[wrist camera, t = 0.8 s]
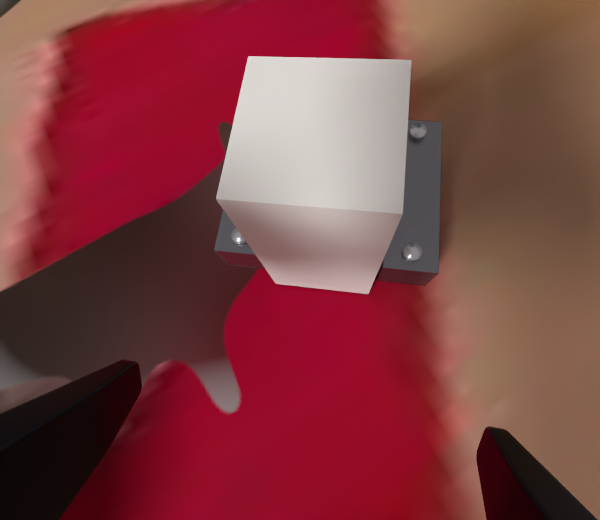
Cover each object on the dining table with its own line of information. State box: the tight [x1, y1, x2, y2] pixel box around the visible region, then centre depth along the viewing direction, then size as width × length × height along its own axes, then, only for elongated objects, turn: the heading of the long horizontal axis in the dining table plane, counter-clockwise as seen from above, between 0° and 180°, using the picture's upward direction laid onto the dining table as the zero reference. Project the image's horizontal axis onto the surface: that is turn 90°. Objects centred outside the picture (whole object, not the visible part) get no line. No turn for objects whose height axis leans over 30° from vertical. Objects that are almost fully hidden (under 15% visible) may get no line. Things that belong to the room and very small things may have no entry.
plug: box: [216, 56, 412, 294], centre depth 18 cm, size 7×6×12 cm
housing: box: [214, 120, 442, 286], centre depth 23 cm, size 10×13×3 cm
